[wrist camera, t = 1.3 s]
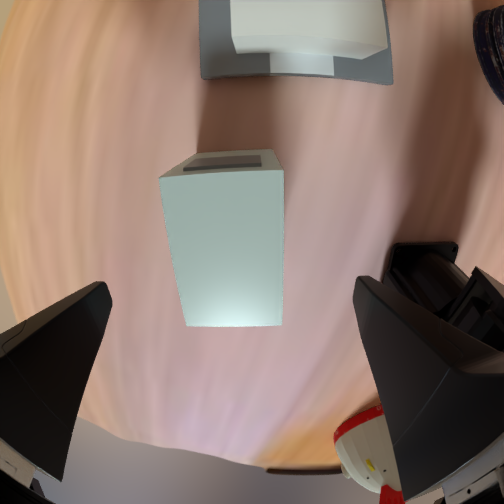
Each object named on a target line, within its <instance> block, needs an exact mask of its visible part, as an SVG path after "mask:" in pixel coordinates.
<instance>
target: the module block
mask: <svg viewBox="0 0 504 504" xmlns="http://www.w3.org/2000/svg"><path fill="white" fill-rule="evenodd" d="M159 184H160V191H161V198H162V205H163V212H164V218H165V224H166V230H167V236H168V241H169V247H170V252H171V258H172V263H173V268H174V273H175V278H176V282H177V287H178V292H179V296H180V301H181V305H182V309H183V314H184V318H185V322H186V326H210V327H231V326H275V325H282V312H283V266H284V170H283V168H282V166H281V164H280V162H279V161H278V159H277V157H276V155H275V153H274V151H273V149H256V150H234V151H219V152H206V153H196V154H194V155H193V156H191V157H190V158H188V159H186V160H185V161H183V162H182V163H180V164H179V165H177V166H176V167H174V168H173V169H171V170H169V171H168V172H166V173H165V174H164V175H162V176H161V177H159Z"/></svg>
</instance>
